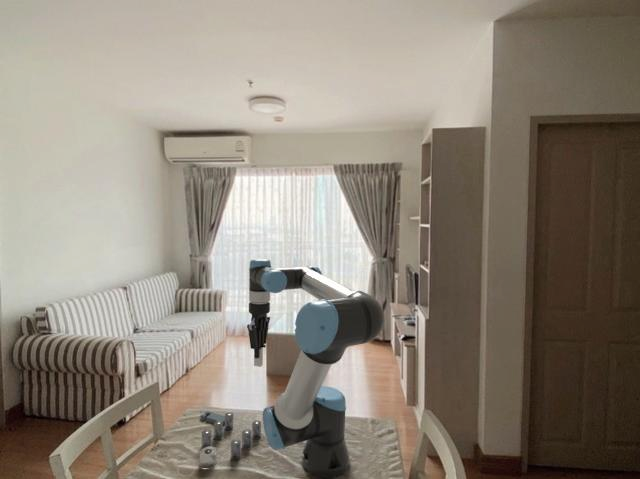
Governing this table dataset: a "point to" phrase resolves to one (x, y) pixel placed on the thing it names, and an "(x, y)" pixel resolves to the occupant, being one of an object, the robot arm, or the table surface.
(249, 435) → the spacer field
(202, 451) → the silver metal cylinder
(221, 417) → the bracket
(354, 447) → the table surface
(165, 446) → the table surface
